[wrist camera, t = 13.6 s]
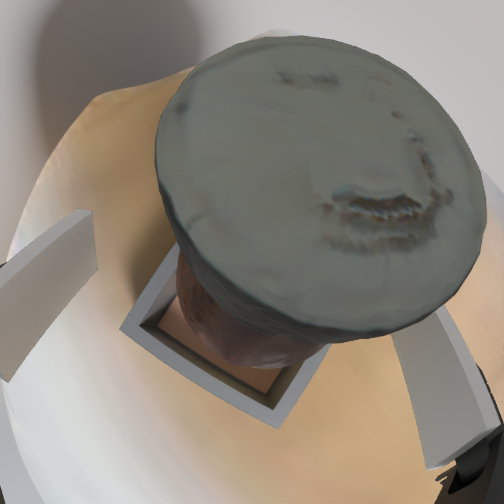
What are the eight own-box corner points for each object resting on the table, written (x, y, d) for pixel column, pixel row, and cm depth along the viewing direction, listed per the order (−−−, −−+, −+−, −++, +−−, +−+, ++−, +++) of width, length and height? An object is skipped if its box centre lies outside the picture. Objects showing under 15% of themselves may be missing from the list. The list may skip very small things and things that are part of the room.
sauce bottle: (269, 365, 21) (454, 526, 1) (191, 332, 21) (-43, 331, 2) (302, 286, 22) (521, 124, 3) (227, 254, 23) (216, -19, 3)
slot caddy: (386, 189, 27) (410, 164, 22) (268, 409, 21) (278, 429, 16) (283, 127, 28) (292, 93, 23) (141, 329, 22) (118, 329, 17)
